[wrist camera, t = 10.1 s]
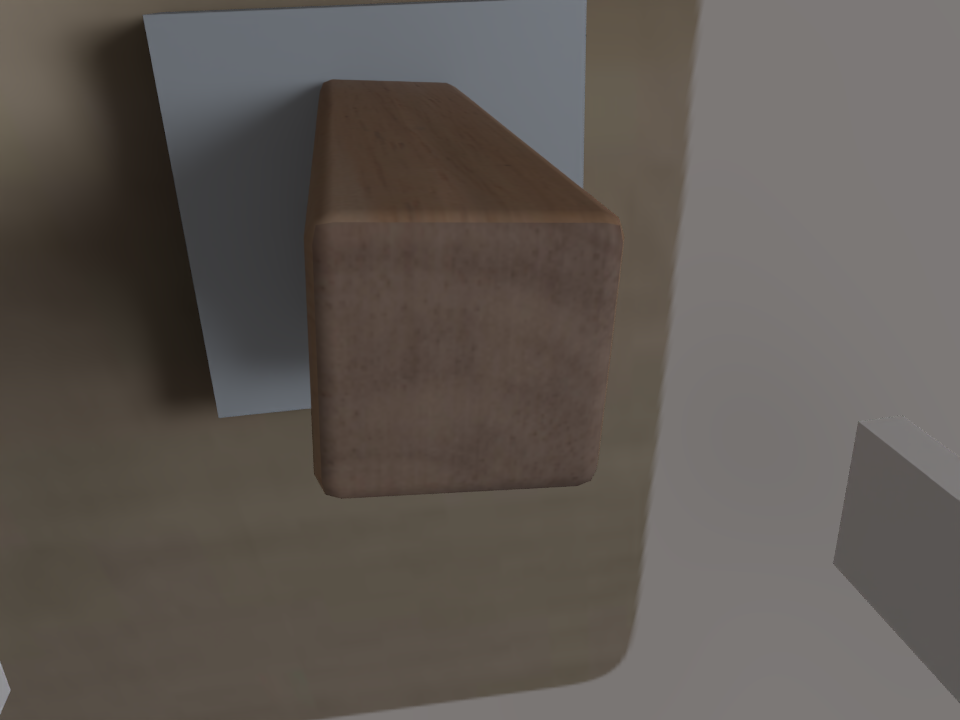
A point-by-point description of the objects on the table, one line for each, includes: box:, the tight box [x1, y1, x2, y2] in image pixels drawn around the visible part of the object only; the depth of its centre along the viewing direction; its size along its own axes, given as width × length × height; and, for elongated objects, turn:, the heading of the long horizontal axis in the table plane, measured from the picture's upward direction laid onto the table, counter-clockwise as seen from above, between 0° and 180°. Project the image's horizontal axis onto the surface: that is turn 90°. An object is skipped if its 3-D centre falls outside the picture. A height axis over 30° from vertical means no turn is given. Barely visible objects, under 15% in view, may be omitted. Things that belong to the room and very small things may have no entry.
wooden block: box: [304, 79, 625, 499], centre depth 21 cm, size 9×4×18 cm, turn 177°
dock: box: [143, 0, 586, 418], centre depth 30 cm, size 14×14×3 cm
